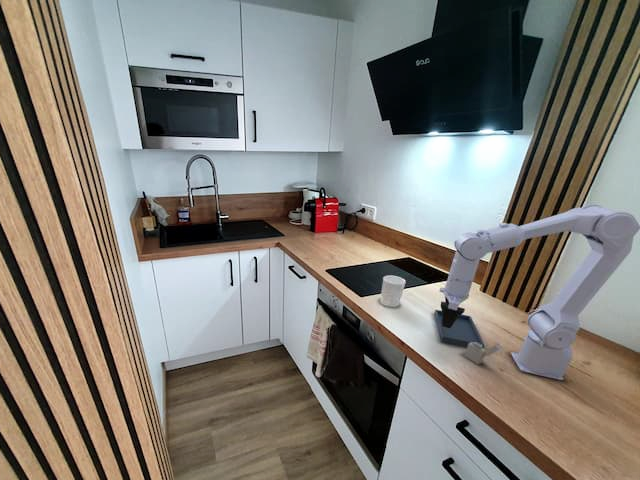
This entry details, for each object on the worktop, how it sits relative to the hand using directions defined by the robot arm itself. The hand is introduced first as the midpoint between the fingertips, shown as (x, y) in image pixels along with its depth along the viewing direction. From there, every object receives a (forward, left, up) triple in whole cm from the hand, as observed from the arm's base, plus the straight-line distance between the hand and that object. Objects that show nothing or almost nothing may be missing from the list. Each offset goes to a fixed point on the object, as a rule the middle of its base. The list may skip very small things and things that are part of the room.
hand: (447, 320), depth 82 cm
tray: (-7, -12, -10) cm, 17 cm away
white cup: (+14, -23, -10) cm, 29 cm away
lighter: (-10, +3, -10) cm, 14 cm away
